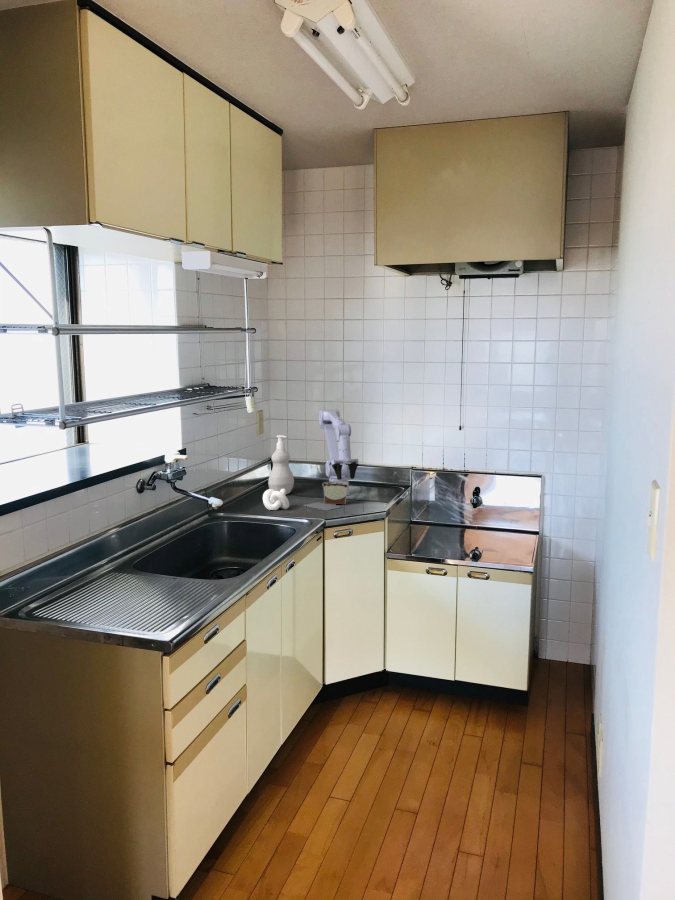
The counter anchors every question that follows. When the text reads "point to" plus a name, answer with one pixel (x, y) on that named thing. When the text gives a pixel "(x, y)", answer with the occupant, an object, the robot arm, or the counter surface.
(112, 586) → the counter surface
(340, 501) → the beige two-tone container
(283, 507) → the white knot
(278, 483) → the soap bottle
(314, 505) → the mat
